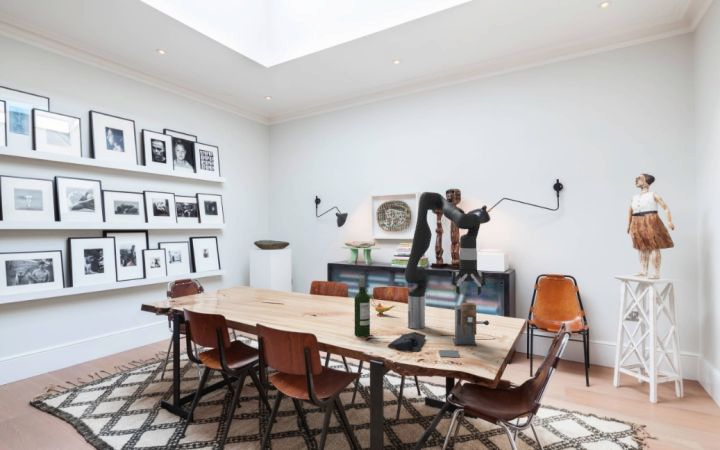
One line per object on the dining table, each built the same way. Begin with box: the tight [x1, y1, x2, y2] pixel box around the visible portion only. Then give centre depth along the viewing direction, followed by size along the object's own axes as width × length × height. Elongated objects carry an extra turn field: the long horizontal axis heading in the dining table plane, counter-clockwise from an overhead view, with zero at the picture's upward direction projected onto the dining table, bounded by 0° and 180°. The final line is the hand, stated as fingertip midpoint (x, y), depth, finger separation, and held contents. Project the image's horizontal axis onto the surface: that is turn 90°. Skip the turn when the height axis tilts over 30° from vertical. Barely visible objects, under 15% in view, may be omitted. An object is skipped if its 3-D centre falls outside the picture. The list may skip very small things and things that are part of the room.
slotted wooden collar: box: [460, 302, 477, 336], centre depth 164 cm, size 6×4×13 cm, turn 83°
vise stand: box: [452, 304, 490, 347], centre depth 169 cm, size 16×19×17 cm
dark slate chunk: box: [387, 331, 426, 353], centre depth 174 cm, size 15×22×5 cm
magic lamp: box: [370, 295, 396, 317], centre depth 229 cm, size 7×18×11 cm, turn 57°
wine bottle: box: [354, 275, 371, 338], centre depth 189 cm, size 8×8×30 cm
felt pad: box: [438, 349, 461, 359], centre depth 160 cm, size 8×8×1 cm
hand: (468, 294), depth 164 cm, fingers open, 8 cm apart
